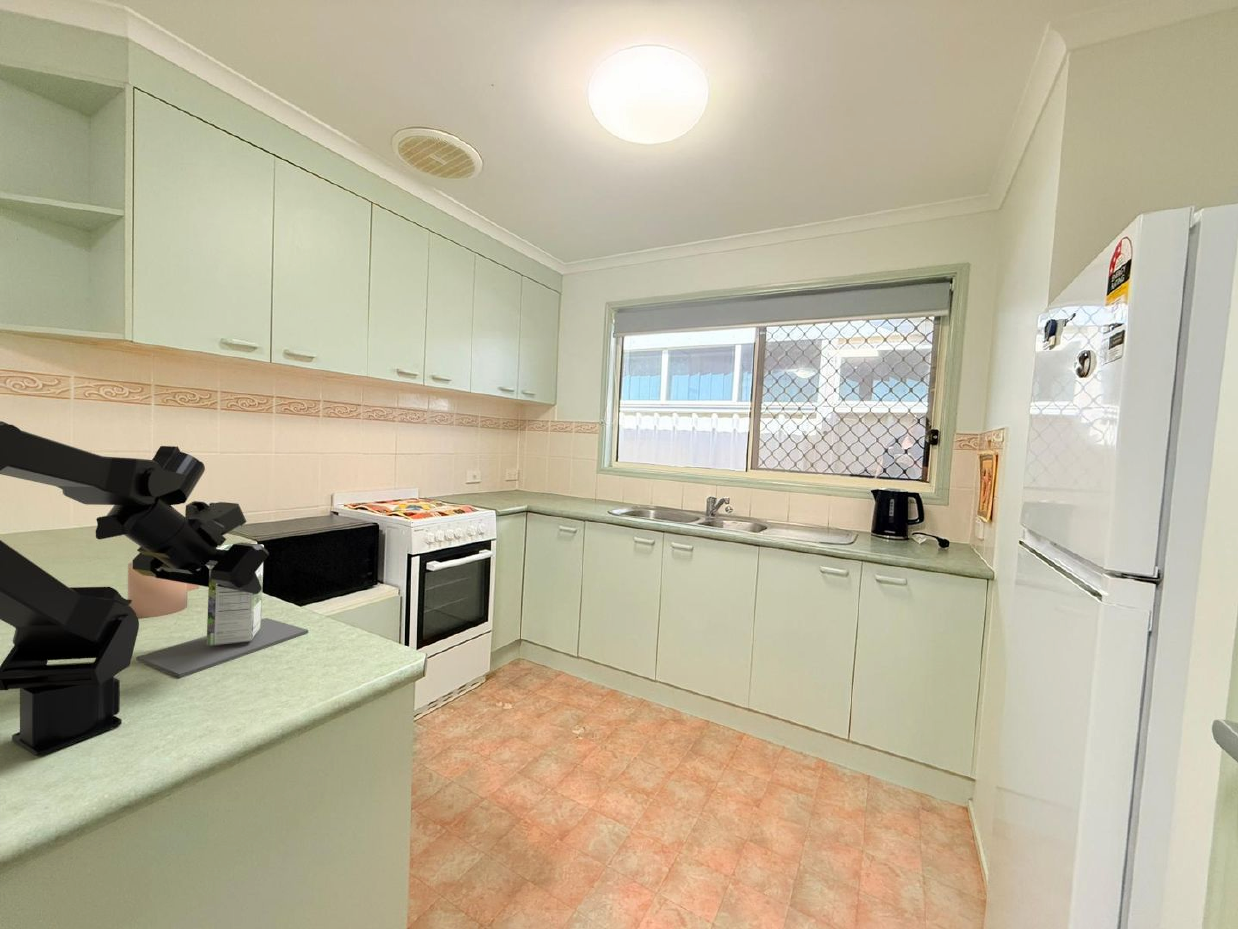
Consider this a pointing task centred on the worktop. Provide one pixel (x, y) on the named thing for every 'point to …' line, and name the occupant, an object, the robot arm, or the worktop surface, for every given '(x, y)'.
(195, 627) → the worktop surface
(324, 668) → the worktop surface
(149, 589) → the terracotta mug
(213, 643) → the syrup box
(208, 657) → the mat
